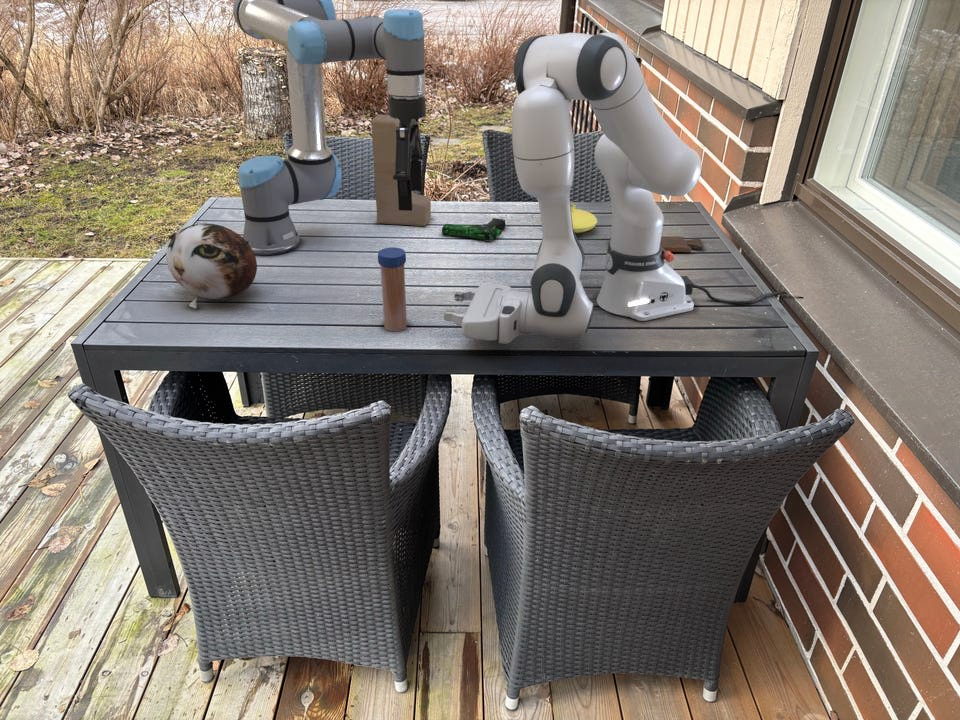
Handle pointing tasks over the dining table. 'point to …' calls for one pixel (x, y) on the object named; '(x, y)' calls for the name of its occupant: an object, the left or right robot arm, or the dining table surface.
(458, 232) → the handgun
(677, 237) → the wooden paddle board
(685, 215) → the dining table surface
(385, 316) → the jar
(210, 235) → the brown and white balloon
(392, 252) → the lid
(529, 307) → the right robot arm
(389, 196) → the decorative block
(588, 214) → the yellow knobbed disc
